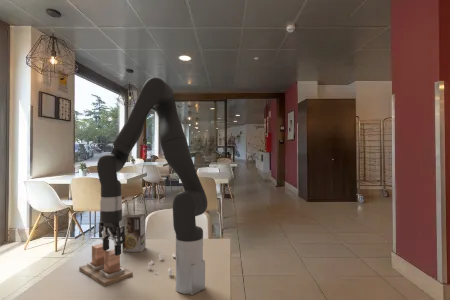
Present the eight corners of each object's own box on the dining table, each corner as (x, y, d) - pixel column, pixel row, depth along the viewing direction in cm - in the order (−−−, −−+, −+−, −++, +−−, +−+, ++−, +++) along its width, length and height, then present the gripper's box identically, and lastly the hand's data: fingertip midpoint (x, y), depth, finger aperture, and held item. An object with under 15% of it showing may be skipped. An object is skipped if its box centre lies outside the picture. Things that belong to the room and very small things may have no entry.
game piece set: (188, 279, 105) (188, 269, 105) (137, 274, 109) (137, 264, 109) (202, 259, 124) (202, 250, 124) (159, 255, 128) (159, 247, 128)
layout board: (132, 275, 108) (132, 250, 107) (104, 286, 99) (104, 259, 99) (106, 261, 121) (106, 239, 120) (79, 269, 112) (79, 246, 112)
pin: (119, 273, 107) (119, 251, 107) (109, 276, 104) (109, 254, 104) (114, 270, 109) (114, 249, 109) (104, 273, 106) (104, 251, 106)
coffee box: (146, 247, 138) (146, 213, 138) (140, 252, 131) (140, 217, 131) (127, 246, 139) (127, 213, 138) (121, 251, 132) (121, 216, 132)
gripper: (131, 209, 104) (131, 253, 104) (111, 204, 113) (111, 245, 113) (111, 212, 99) (112, 260, 99) (92, 207, 108) (92, 251, 108)
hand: (111, 252), depth 106 cm, fingers open, 8 cm apart
